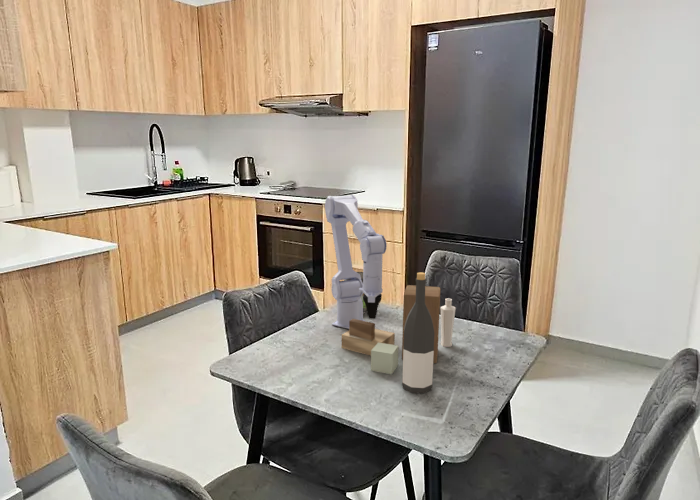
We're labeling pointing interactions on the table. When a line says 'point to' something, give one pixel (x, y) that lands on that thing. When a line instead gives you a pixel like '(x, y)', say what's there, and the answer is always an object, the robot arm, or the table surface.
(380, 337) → the oak step
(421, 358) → the wine bottle
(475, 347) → the table surface
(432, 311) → the wooden block
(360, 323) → the walnut block
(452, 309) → the perfume bottle
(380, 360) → the sage cube
